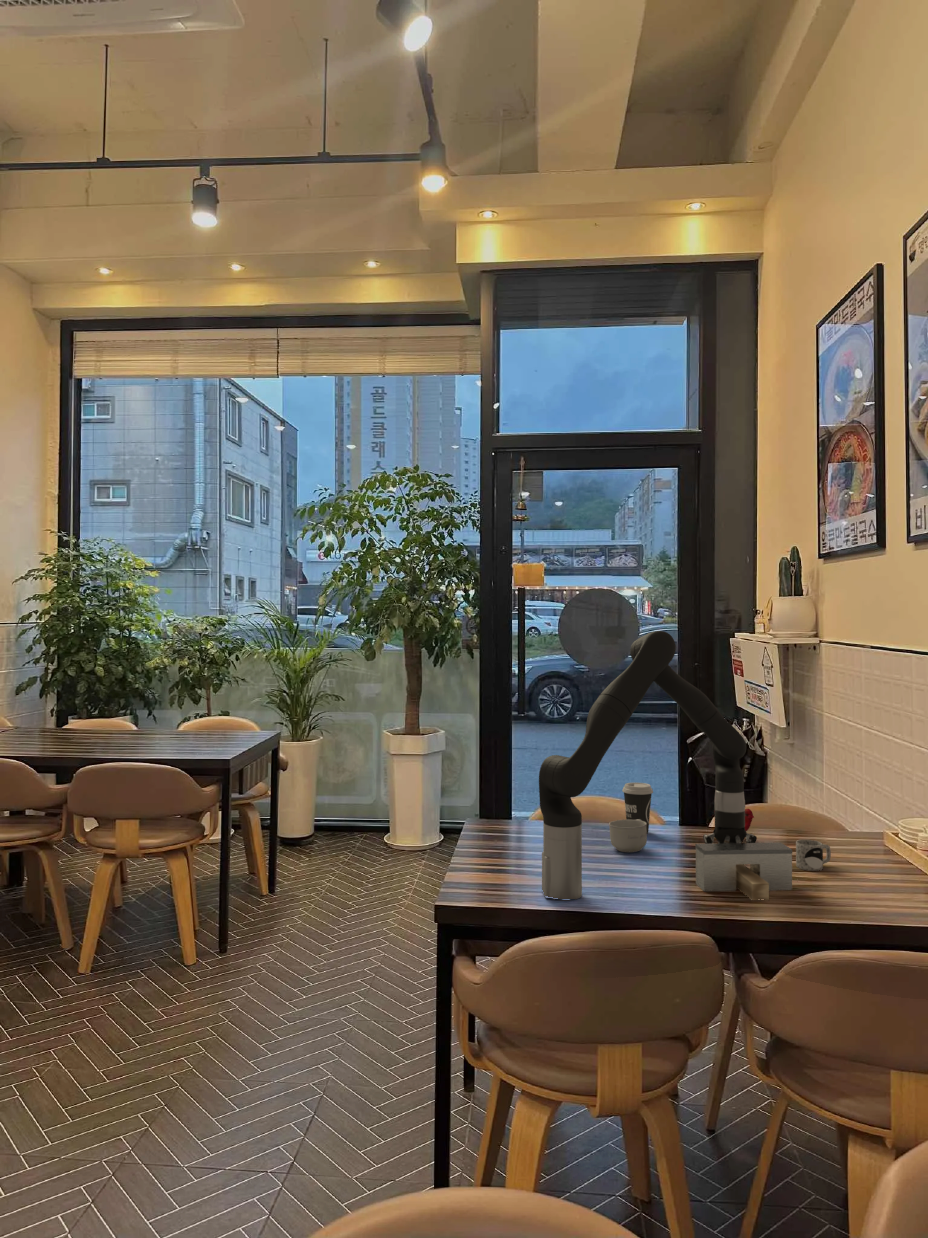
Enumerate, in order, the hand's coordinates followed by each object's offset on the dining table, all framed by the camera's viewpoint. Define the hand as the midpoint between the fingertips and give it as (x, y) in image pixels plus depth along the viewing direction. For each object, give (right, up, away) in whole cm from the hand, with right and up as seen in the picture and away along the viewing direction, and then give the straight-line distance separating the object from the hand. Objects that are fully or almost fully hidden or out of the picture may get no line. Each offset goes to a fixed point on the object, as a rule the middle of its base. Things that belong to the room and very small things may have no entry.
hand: (730, 873), depth 211 cm
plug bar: (0, 0, -8) cm, 8 cm away
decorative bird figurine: (+14, -1, +40) cm, 42 cm away
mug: (+25, -1, +8) cm, 27 cm away
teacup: (-20, -1, +26) cm, 33 cm away
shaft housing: (0, 0, -9) cm, 9 cm away
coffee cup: (-14, -1, +45) cm, 47 cm away
